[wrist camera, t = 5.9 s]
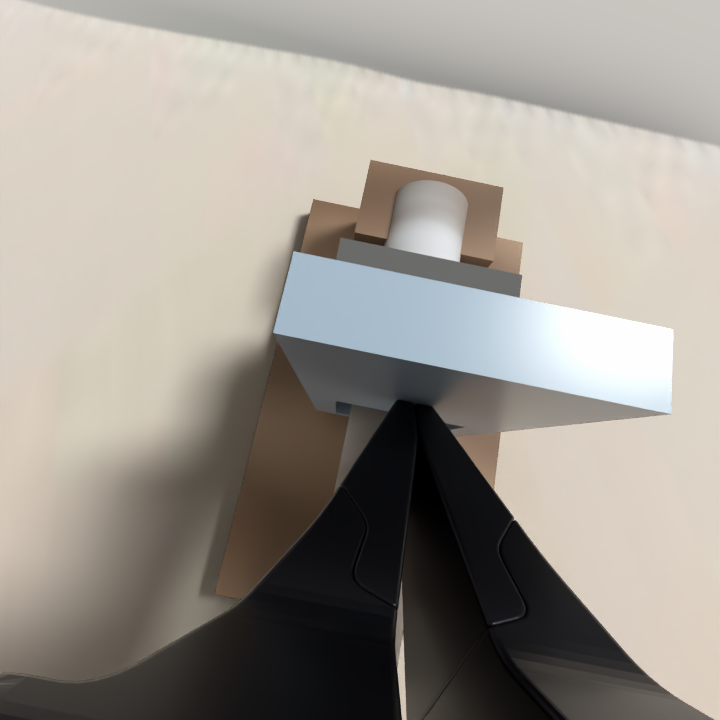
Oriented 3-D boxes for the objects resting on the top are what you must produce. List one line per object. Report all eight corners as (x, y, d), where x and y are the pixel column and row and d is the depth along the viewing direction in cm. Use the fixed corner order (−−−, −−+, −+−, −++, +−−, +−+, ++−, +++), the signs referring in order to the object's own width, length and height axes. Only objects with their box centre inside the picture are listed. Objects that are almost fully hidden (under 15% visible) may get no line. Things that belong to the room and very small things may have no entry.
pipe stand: (467, 633, 16) (540, 738, 10) (222, 585, 16) (155, 663, 10) (513, 252, 20) (587, 170, 14) (314, 211, 20) (304, 111, 14)
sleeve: (449, 437, 16) (670, 414, 5) (316, 410, 16) (272, 332, 5) (460, 364, 17) (676, 216, 6) (332, 338, 17) (321, 142, 6)
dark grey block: (460, 364, 17) (515, 326, 12) (332, 338, 17) (329, 288, 11) (465, 328, 17) (522, 275, 12) (340, 302, 17) (340, 237, 12)
